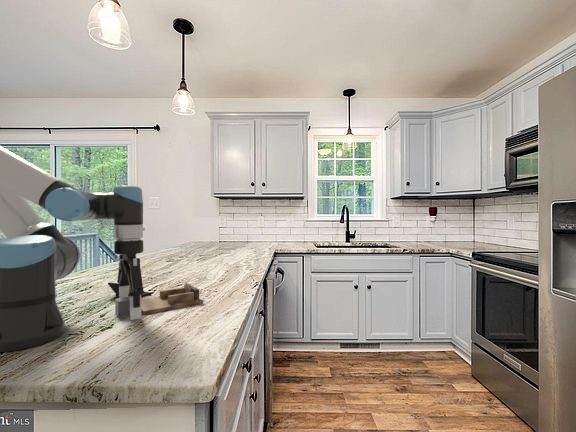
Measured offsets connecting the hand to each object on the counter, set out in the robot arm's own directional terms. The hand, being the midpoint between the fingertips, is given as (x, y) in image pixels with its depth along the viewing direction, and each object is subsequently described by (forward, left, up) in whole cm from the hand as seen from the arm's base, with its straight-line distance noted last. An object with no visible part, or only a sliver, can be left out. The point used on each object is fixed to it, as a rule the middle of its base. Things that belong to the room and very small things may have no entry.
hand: (129, 313), depth 91 cm
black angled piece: (+5, +21, -1) cm, 22 cm away
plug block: (0, 0, 0) cm, 0 cm away
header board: (+12, +3, 0) cm, 12 cm away
